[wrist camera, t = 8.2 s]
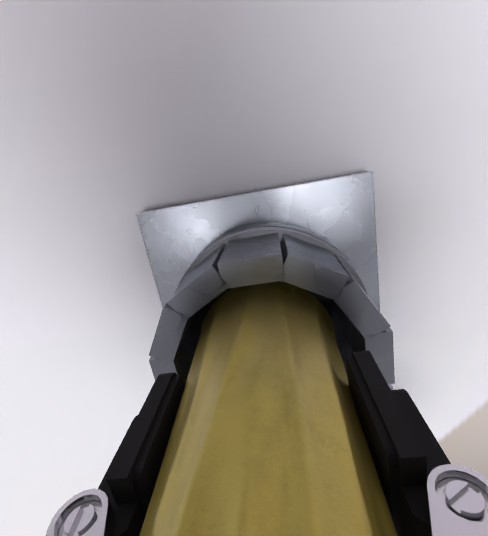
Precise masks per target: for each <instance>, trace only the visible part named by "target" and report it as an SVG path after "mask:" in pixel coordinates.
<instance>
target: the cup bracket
mask: <svg viewBox="0 0 488 536" xmlns="http://www.w3.org/2000/svg"><path fill="white" fill-rule="evenodd" d="M136 215H137V219H138V222H139V226H140V229H141V233H142V236H143V240H144V243H145V247H146V250H147V254H148V258H149V261H150V265H151V268H152V272H153V275H154V279H155V282H156V286H157V289H158V293H159V296H160V300H161V303H162V307H163V310H162V314H161V317H160V320H159V324H158V327H157V330H156V333H155V337H154V340H153V343H152V347H151V350H150V353H149V356H151V358H150V359H149V362H150V365H151V368H152V372H153V375H154V378H155V381H156V379H157V377H158V375H159V374H164V373H173V372H175V373H176V374H177V376H181V377H182V379H183V382H184V385H185V384H186V381H187V377H188V374H189V371H190V367H191V364H192V361H193V357H194V354H195V351H196V348H197V345H198V341H199V338H200V334H201V327H202V323H203V321H204V319H205V317H206V315H207V314H208V312H209V310H210V309H211V307H212V306H213V304H214V303H215V302H216V300H217V299H218V298H219V297H221V296H222V295H223V294H224V293H226V292H227V291H229V290H231V289H232V288H234V287H241V286H248V285H255V284H262V283H269V282H276V281H282V282H286V283H289V284H292V285H294V286H297V287H299V288H301V289H303V290H305V291H307V292H309V293H310V294H312V295H313V296H315V297H316V298H317V299H318V300H319V301H320V303H321V304H322V305H323V306H324V307H325V309H326V310H327V312H328V313H329V315H330V317H331V319H332V322H333V325H334V329H335V336H336V342H337V346H338V349H339V351H340V354H341V357H342V360H343V363H344V367H345V370H346V374H347V363H346V358H347V357H352V352H359V351H367V350H369V351H370V352H371V354H372V356H373V358H374V360H375V362H376V363H377V365H378V367H379V369H380V371H381V373H382V375H383V376H384V378H385V380H386V382H387V384H388V386H389V388H390V389H391V390H392V389H393V387H392V385H391V384H392V383H395V379H394V355H393V332H392V330H391V329H390V325H389V324H388V322H387V321H386V320H385V318H384V317H383V316H382V314H381V313H380V303H379V285H378V266H377V247H376V228H375V210H374V191H373V172H369V171H365V172H359V173H354V174H348V175H342V176H337V177H331V178H326V179H320V180H314V181H309V182H303V183H298V184H292V185H286V186H281V187H275V188H270V189H264V190H259V191H253V192H247V193H242V194H236V195H231V196H225V197H219V198H214V199H208V200H203V201H197V202H191V203H186V204H180V205H175V206H169V207H163V208H158V209H152V210H147V211H142V212H140V213H137V214H136ZM347 377H348V374H347Z"/></svg>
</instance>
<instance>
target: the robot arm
mask: <svg viewBox="0 0 488 536" xmlns="http://www.w3.org/2000/svg"><path fill="white" fill-rule="evenodd" d="M346 363H347V374H348V385H349V389H350V391H351V395H352V398H353V401H354V404H355V407H356V410H357V413H358V417H359V420H360V424H361V427H362V430H363V432H364V435H365V438H366V441H367V444H368V447H369V450H370V453H371V456H372V458H373V461H374V465H375V468H376V471H377V474H378V477H379V480H380V483H381V486H382V489H383V492H384V495H385V498H386V501H387V504H388V507H389V510H390V513H391V516H392V519H393V522H394V526H395V529H396V532H397V535H398V536H488V479H487V478H485V477H484V476H483V475H482V474H480V473H478V472H476V471H474V470H472V469H470V468H467V467H464V466H460V465H452V464H451V463H450V462H449V460H448V458H447V457H446V455H445V454H444V452H443V450H442V448H441V447H440V445H439V443H438V442H437V440H436V438H435V437H434V435H433V433H432V432H431V430H430V429H429V427H428V425H427V424H426V422H425V420H424V419H423V417H422V415H421V414H420V412H419V410H418V409H417V407H416V405H415V404H414V402H413V401H412V399H411V397H410V396H409V394H408V393H407V391H406V390H404V389H399V390H391V389H390V388H389V386H388V384H387V382H386V380H385V378H384V376H383V375H382V373H381V371H380V369H379V367H378V365H377V363H376V362H375V360H374V358H373V356H372V354H371V352H370V351H369V350H367V351H359V352H352V357H347V358H346ZM184 388H185V385H184V382H183V379H182V377H181V376H177V374H176V373H175V372H173V373H164V374H159V375H158V377H157V379H156V381H155V383H154V385H153V387H152V389H151V391H150V393H149V395H148V397H147V399H146V401H145V403H144V405H143V407H142V409H141V411H140V413H139V415H137V416H136V417H135V418H134V420H133V421H132V423H131V425H130V427H129V429H128V431H127V433H126V435H125V437H124V439H123V441H122V443H121V445H120V447H119V449H118V451H117V452H116V454H115V456H114V458H113V460H112V462H111V464H110V466H109V468H108V470H107V472H106V474H105V476H104V478H103V480H102V482H101V484H100V486H99V488H98V489H90V490H86V491H83V492H81V493H79V494H77V495H75V496H74V497H72V498H71V499H70V500H68V501H67V502H66V503H65V504H64V505H63V506H62V507H61V508H60V509H59V510H58V511H57V513H56V514H55V516H54V517H53V519H52V521H51V523H50V525H49V527H48V530H47V533H46V536H139V535H140V532H141V529H142V526H143V523H144V519H145V516H146V513H147V510H148V507H149V503H150V500H151V497H152V494H153V491H154V487H155V484H156V481H157V477H158V474H159V471H160V468H161V464H162V461H163V458H164V454H165V451H166V448H167V444H168V441H169V438H170V434H171V431H172V428H173V425H174V421H175V418H176V415H177V412H178V408H179V405H180V401H181V398H182V394H183V391H184Z"/></svg>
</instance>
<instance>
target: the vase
mask: <svg viewBox="0 0 488 536" xmlns="http://www.w3.org/2000/svg"><path fill="white" fill-rule="evenodd" d="M139 536H398V535H397V532H396V529H395V526H394V522H393V519H392V516H391V513H390V510H389V507H388V504H387V501H386V498H385V495H384V492H383V489H382V486H381V483H380V480H379V477H378V474H377V471H376V468H375V465H374V461H373V458H372V456H371V453H370V450H369V447H368V444H367V441H366V438H365V435H364V432H363V430H362V427H361V424H360V420H359V417H358V413H357V410H356V407H355V404H354V401H353V398H352V395H351V391H350V389H349V385H348V377H347V374H346V370H345V367H344V363H343V360H342V357H341V354H340V351H339V349H338V346H337V342H336V336H335V329H334V325H333V322H332V319H331V317H330V315H329V313H328V312H327V310H326V309H325V307H324V306H323V305H322V304H321V303H320V301H319V300H318V299H317V298H316V297H315V296H313V295H312V294H310V293H309V292H307V291H305V290H303V289H301V288H299V287H297V286H294V285H292V284H289V283H286V282H282V281H276V282H269V283H262V284H255V285H248V286H241V287H234V288H232V289H231V290H229V291H227V292H226V293H224V294H223V295H222V296H221V297H219V298H218V299H217V300H216V302H215V303H214V304H213V306H212V307H211V309H210V310H209V312H208V314H207V315H206V317H205V319H204V321H203V323H202V327H201V334H200V338H199V341H198V345H197V348H196V351H195V354H194V357H193V361H192V364H191V367H190V371H189V374H188V377H187V381H186V384H185V388H184V391H183V394H182V398H181V401H180V405H179V408H178V412H177V415H176V418H175V421H174V425H173V428H172V431H171V434H170V438H169V441H168V444H167V448H166V451H165V454H164V458H163V461H162V464H161V468H160V471H159V474H158V477H157V481H156V484H155V487H154V491H153V494H152V497H151V500H150V503H149V507H148V510H147V513H146V516H145V519H144V523H143V526H142V529H141V532H140V535H139Z"/></svg>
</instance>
